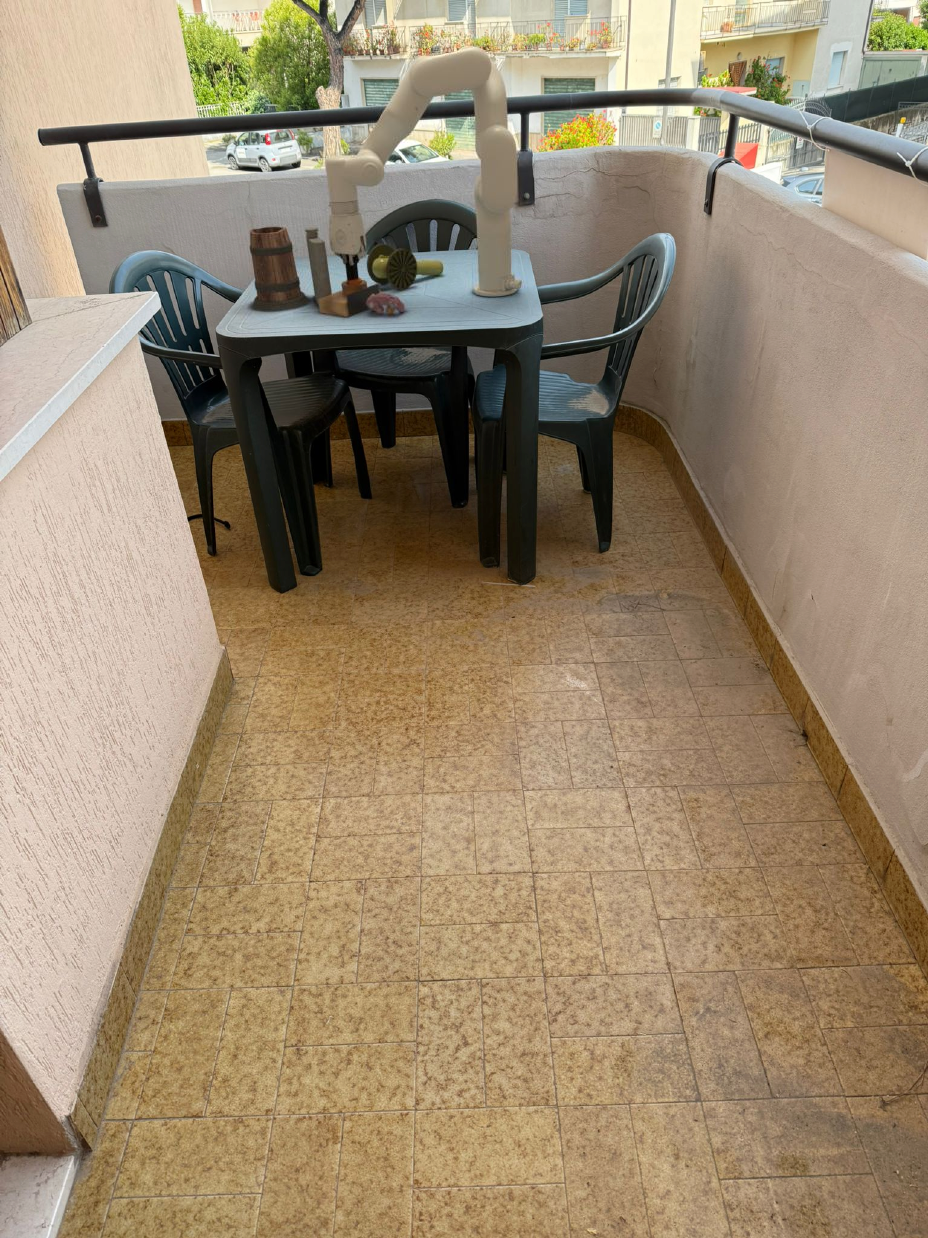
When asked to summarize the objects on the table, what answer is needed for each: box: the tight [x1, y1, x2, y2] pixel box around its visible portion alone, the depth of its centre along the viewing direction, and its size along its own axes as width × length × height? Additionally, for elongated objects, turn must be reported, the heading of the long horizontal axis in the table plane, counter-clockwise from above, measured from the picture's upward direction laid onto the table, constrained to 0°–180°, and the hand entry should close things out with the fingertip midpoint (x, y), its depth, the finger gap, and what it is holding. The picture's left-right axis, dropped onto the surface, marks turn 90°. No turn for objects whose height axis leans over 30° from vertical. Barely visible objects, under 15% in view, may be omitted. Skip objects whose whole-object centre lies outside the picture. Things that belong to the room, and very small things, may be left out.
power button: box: [346, 277, 362, 285], centre depth 238 cm, size 4×4×3 cm
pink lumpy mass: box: [366, 292, 406, 315], centre depth 230 cm, size 10×5×7 cm, turn 73°
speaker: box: [318, 279, 381, 318], centre depth 236 cm, size 10×15×6 cm, turn 144°
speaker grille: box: [346, 283, 380, 316], centre depth 234 cm, size 1×13×5 cm, turn 144°
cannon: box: [366, 243, 444, 291], centre depth 254 cm, size 25×12×11 cm, turn 129°
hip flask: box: [304, 226, 333, 306], centre depth 239 cm, size 16×4×20 cm, turn 17°
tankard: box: [249, 225, 310, 312], centre depth 243 cm, size 24×17×20 cm
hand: (352, 278), depth 237 cm, fingers closed
